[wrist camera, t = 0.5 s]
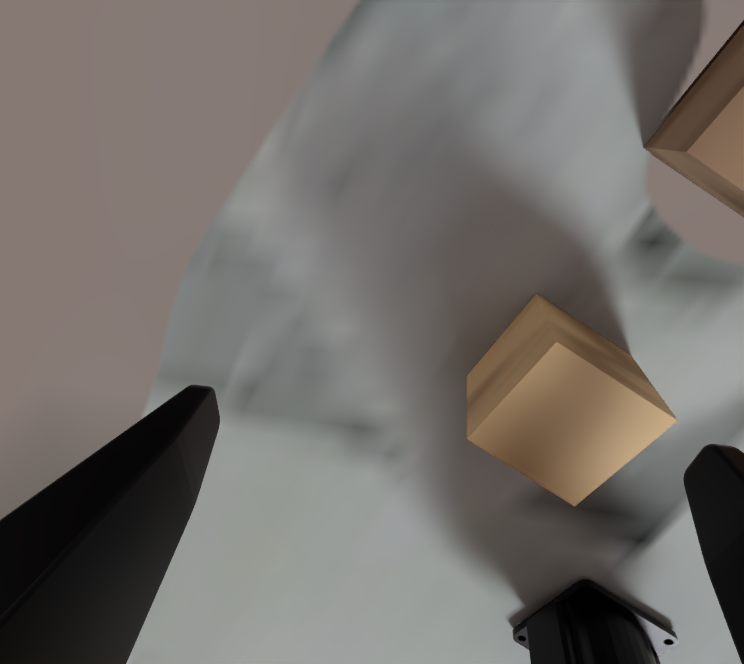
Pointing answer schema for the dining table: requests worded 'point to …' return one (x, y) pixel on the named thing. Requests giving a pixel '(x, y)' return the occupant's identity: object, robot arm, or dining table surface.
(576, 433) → the oak cube
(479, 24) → the dining table surface
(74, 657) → the robot arm
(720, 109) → the walnut base
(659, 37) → the dining table surface
